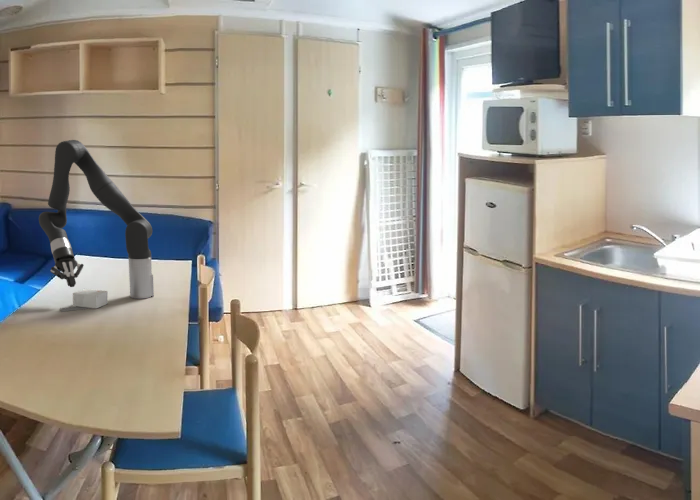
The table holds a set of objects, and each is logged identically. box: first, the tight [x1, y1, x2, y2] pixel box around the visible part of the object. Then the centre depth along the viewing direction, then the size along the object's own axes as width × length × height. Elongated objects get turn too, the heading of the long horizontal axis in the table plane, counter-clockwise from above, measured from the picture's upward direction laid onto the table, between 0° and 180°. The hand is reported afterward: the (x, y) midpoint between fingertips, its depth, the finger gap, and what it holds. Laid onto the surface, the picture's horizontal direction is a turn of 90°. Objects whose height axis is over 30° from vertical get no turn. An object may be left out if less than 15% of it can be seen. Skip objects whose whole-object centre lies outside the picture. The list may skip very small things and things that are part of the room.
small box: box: [72, 288, 108, 309], centre depth 231 cm, size 8×6×10 cm
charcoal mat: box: [60, 306, 92, 313], centre depth 227 cm, size 11×5×1 cm, turn 121°
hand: (72, 285), depth 230 cm, fingers closed
